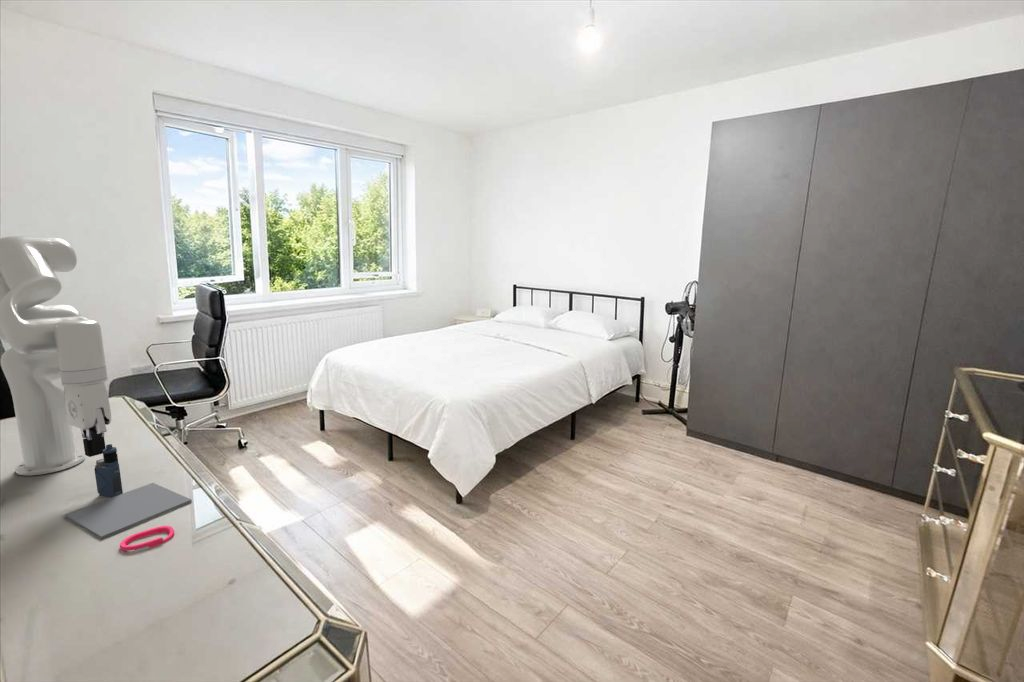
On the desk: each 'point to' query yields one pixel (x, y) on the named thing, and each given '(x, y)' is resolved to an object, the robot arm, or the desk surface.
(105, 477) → the vaping device
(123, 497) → the mat
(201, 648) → the desk surface
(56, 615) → the desk surface
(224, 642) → the desk surface
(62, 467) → the robot arm
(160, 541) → the fitness band
